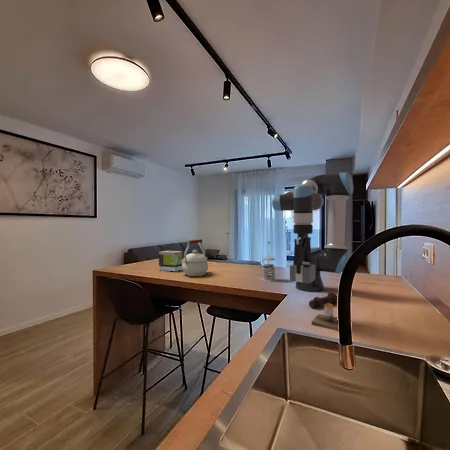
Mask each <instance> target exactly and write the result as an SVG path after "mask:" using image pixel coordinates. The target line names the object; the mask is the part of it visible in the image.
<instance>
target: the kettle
mask: <svg viewBox="0 0 450 450" xmlns="http://www.w3.org/2000/svg"><path fill="white" fill-rule="evenodd" d="M186 243H187V246H186V249H185V250H184V252H183V258H182V270H181V271H182V272H183V273H184V275H185V276H186V275H188V276H187V277H189V276H199V277H203V276H202V275H204V276H205V275H206V272H208V269H209V264H208V257H207V256H206V249H205V247H204V246H203V239H202V238H200V239H191V240H190V239H189V240H187V242H186ZM190 244H194V245H195V244H200V247H201V248H202V252H203V253H199V251H198V250H197V249H193V250H192V253H188V254H187V252H188V251H189V248H190Z"/></svg>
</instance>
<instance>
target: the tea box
mask: <svg viewBox="0 0 450 450" xmlns="http://www.w3.org/2000/svg"><path fill="white" fill-rule="evenodd" d="M182 264H183V252H182V251H181V250H164V251H163V250H162V251H159V252H158V270H163V271H162V272H170V271H174V272H173V273H176V272H175V271H177V272H180V271H183V270H182ZM179 270H180V271H179Z"/></svg>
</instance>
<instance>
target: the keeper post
mask: <svg viewBox="0 0 450 450" xmlns="http://www.w3.org/2000/svg"><path fill="white" fill-rule="evenodd" d="M323 307H324V308H323V312H324V313H323V315H324V320H325V321H326V322H333V317H334V304H331V303H326V304H325V305H323Z"/></svg>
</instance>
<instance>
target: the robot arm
mask: <svg viewBox="0 0 450 450" xmlns="http://www.w3.org/2000/svg"><path fill="white" fill-rule="evenodd" d="M353 193H354V183H353V178H352V175H351V174H350V173H349V172H333V173H326V174H325V173H324V174H319V175H315V176H313V177H310V178H308V179H306V180H304V181H303V182H302V183H301V184H300V185H297V186H295V187H294V188H293V189H291V190H290V191H287V192H285V193H283V194H275V195H273V197H272V199H271V205H272V208H273V210H274V211H279V212H284V211H287V212H288V211H293V215H292V219H293V223H294V225H293V234H294V235H295V234H296V235H297V238H294V240H293V241H294V242H293V243H294V247H293V248H294V251H293V263H292V265H296V281H297V282H295V288H296V289H297V290H300V291H305V292H322V291H323V290H324V289H325V288H324V287H325V285H324V283H323V279H322V277H321V276H322V275H321V272H326V273H332V274H333V273H334V274H341V272H342V270H343V267H344V265H345V263H346V261H347V259H348V258H349V256H350V255H351V252H350V251H348V247H347V246H345V236H346V211H347V210H346V208H347V200H348V199H349V198H350V195H352V194H353ZM323 196H325V198H326V199H327V201H328V212H327V213H328V214H327V215H328V216H327V219H328V220H327V236H326V237H327V239H326V242H327V243H326V245H325V246H324V247H323V250H322V248H321V247H317V246H315V247H312V246H311V245H312V244H311V240H312V239H311V236H310V237H309V235H311V234H313V232H314V230H313V229H314V227H313V226H314V225H313V222H314V214H313V212H314V211H318V210H320V209H321V208H322V207H323V206H324V203H325V202H324V198H323ZM351 256H352V255H351ZM302 264H310V265H315V280H314V281H312V282H311V283H303V265H302Z"/></svg>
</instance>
